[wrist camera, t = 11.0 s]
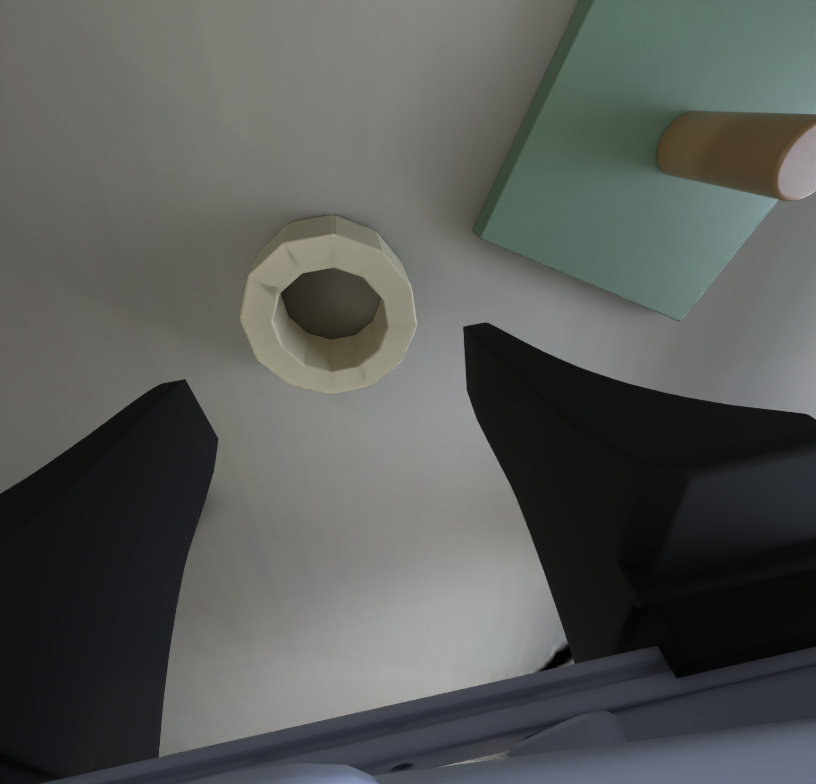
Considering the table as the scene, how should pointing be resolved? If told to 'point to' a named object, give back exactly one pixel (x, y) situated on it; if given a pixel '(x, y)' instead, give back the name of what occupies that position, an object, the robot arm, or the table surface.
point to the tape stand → (660, 143)
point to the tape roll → (313, 355)
